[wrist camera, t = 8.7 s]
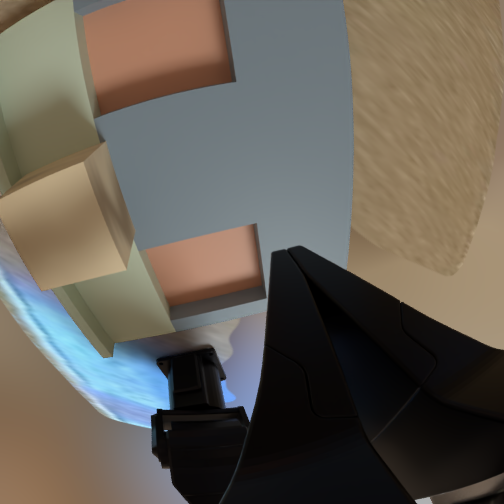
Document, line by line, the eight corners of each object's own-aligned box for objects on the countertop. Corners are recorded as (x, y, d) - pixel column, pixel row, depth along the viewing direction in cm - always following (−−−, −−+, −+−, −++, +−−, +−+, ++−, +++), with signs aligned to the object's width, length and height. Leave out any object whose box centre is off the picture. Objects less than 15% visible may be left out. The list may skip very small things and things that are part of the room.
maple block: (135, 230, 17) (126, 270, 14) (60, 252, 16) (41, 291, 13) (105, 141, 13) (83, 161, 10) (25, 174, 13) (-7, 202, 9)
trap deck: (334, 274, 26) (351, 300, 23) (107, 328, 24) (103, 358, 21) (320, -34, 10) (346, -48, 8) (-4, 48, 8) (-32, 49, 5)
